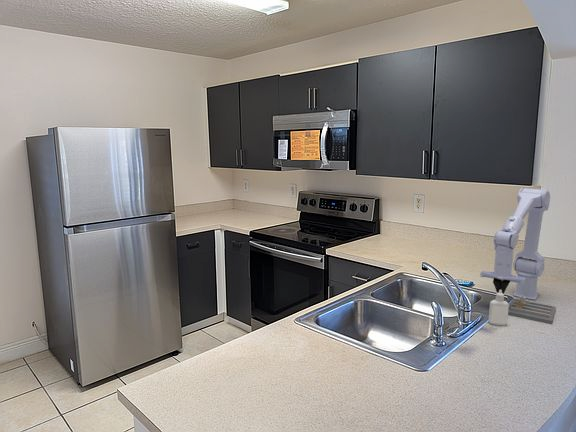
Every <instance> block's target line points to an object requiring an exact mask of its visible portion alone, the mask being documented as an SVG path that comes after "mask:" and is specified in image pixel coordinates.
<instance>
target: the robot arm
mask: <svg viewBox="0 0 576 432" xmlns="http://www.w3.org/2000/svg"><path fill="white" fill-rule="evenodd" d="M550 202H551V193H550V191H549V189H539V188H538V189H537V188H525V187H521V188H520V189H519V190H518V192H517V205H516V207H515V210H514V212H513V214H512V215H511V216H509V217H507V218H506V221H505V223H504V224H503V226H502V228H501V230H499V231H496V232H495V233H494V236H493V247H494V248H493V249H494V251H495V257H494V269H493V271H487V270H486V271H485V270H481V271H480V275H479V276H480V277H479V278H487V279H488V278H489V279H492V280H493V281H492V283H493V285H494V287H495V291H496V293H498V292H499V290H502V293H503V294H504V295H505V292H506V291H507V288H508V286H509V284H510V283H515V284H516V286H515V287H516V288H515V291H514V292H513V297H518V298H519V297H520V295H521V296H522V295H524V296H526V299H529V300H535V301H536V300H537V298H538V295H539V292H537V289H538V279H539V277H541V275H543V273H544V271H545V257H544V256H543V255H542V254H540V253H539V251H538V249H539V248H538V247H539V242H540V236H541V230H542V221H543V215H544V212H546V211H548V210H549V207H550ZM527 215H528V217H527V222H526V223H527V224H526V229H525V237H524V244H523V248H522V249H523V250H520V251H519V252H517V253H515V257H514V248H516V247H517V245H518V241H519V237H520V236H519V234H520V233H521V231H522V229H523V228H524V225H525V221H524V219H525V218H526V216H527ZM512 270H514V271H515V274H517V275H514V274H512V273H513V272H512Z"/></svg>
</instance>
